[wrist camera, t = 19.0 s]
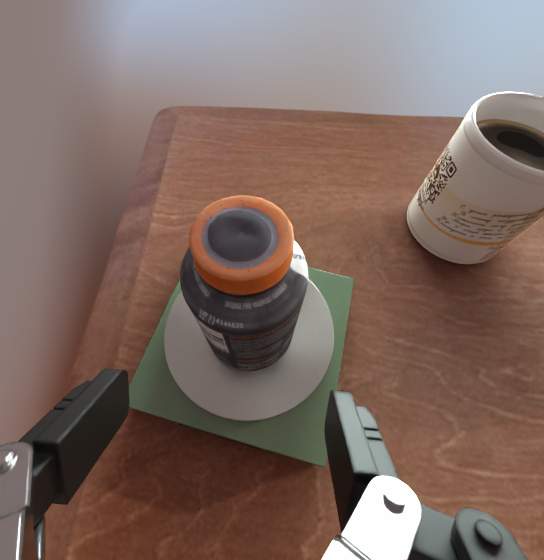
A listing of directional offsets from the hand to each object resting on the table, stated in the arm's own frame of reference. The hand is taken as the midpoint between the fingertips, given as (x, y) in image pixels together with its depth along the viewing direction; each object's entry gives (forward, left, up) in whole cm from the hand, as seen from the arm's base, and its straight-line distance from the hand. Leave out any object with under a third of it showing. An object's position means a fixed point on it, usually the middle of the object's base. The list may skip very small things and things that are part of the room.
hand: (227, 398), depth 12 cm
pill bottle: (-1, +5, -8) cm, 10 cm away
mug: (+16, +24, -12) cm, 32 cm away
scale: (-1, +5, -12) cm, 13 cm away
